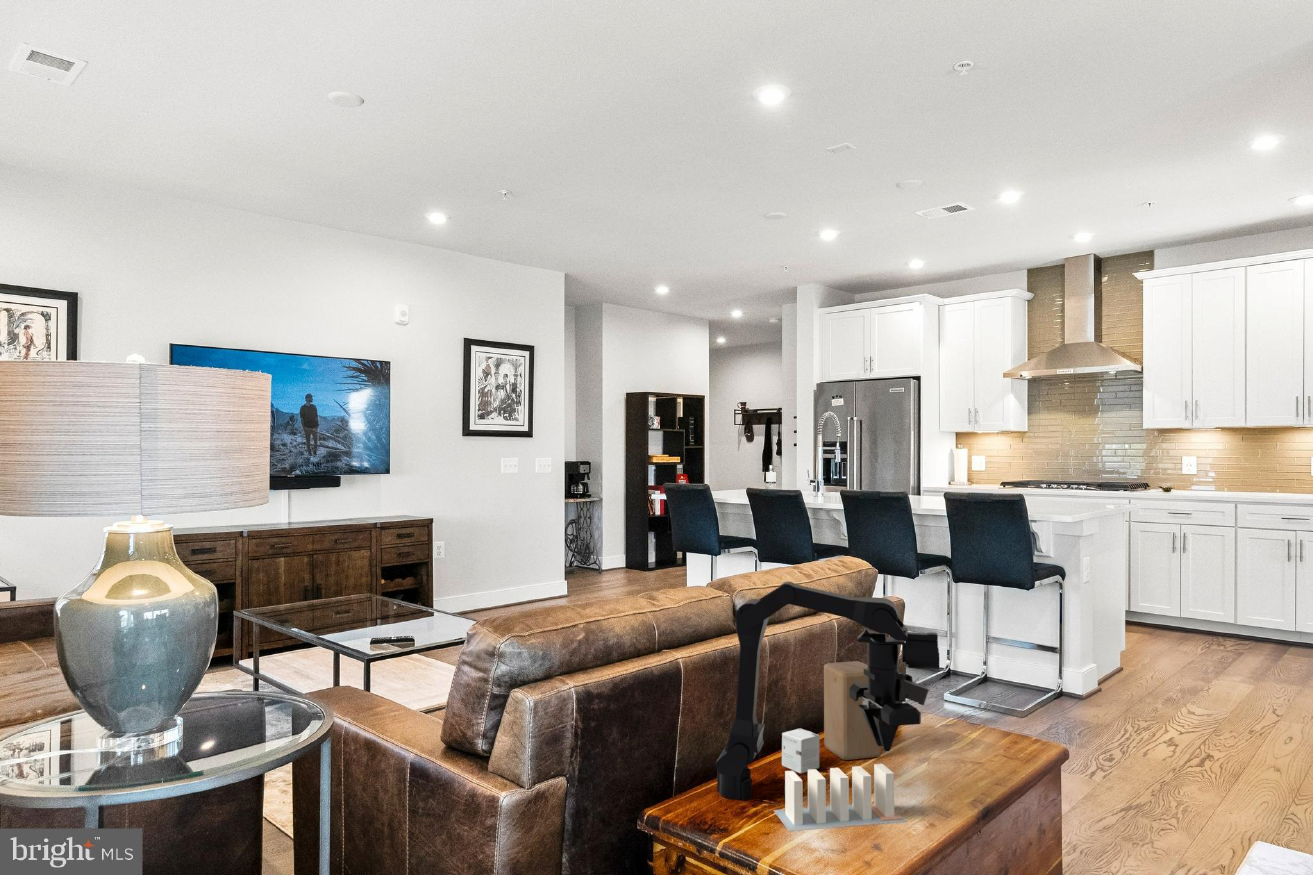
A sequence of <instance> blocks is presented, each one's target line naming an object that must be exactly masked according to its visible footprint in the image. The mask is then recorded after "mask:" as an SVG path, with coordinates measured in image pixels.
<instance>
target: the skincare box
mask: <svg viewBox="0 0 1313 875" xmlns="http://www.w3.org/2000/svg"><path fill="white" fill-rule="evenodd" d="M781 736H782V737H781V765H782V767H785V768H787V769H790V770H791V771H794V772H795V773H798V774H805V773H808V770H810V769H816V770H817V769H819V768H820V740H821V739H820V735H819V734H816V733H814V732H812V731H809V730H806V729H803V728H801V727H800V728H796V729H793V730H792V729H791V730H789V731H788V730H787V731H785V732H782V733H781Z"/></svg>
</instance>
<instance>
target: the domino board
mask: <svg viewBox="0 0 1313 875" xmlns="http://www.w3.org/2000/svg"><path fill="white" fill-rule="evenodd" d="M773 812H774V813H775V815H776V816H777V817H778V818H779V820H780V821H781V822H782V824H783V825H784V827H785V828H786V829H787V830H788V832H796V831H805V830H806V831H808V830H809V831H810V830H811V831H812V830H820V829H821V830H822V829H834V828H844V827H845V828H847V827H857V826H858V827H859V826H870V825H880V824H881V825H883V824H895V823H908V820H907V819H906V818H904V817H903V816H902V815H901V814H900V813H899V812H898V811H897V810H896V809H894V816H893V817H886V816H885V815H883V814H882V813H881V812H880V811H879V810H878V809H877V808H876V807H875V803H874V802H871V812H872V819H869V820H863V819H862V818H861V817H860V816H859V815H858V814H857V813H856V812H855V811H854V810H853V809H852V803H851V804H850V803H849V821H844V822H840V820H839V819H838V818H837V817H836V816H835V815H834V814H833V813H832V812H831V811H830V805H826V823H819V824H818V823H817V822H816V821H815V820H814V819H813V818H812V816H811V815H810V814H809V813H808V807H803V825H794V824H793V823H792V822H791V821H790V819H789V818H788V817H787V815H786V814H785V808H783V809H773Z"/></svg>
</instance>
